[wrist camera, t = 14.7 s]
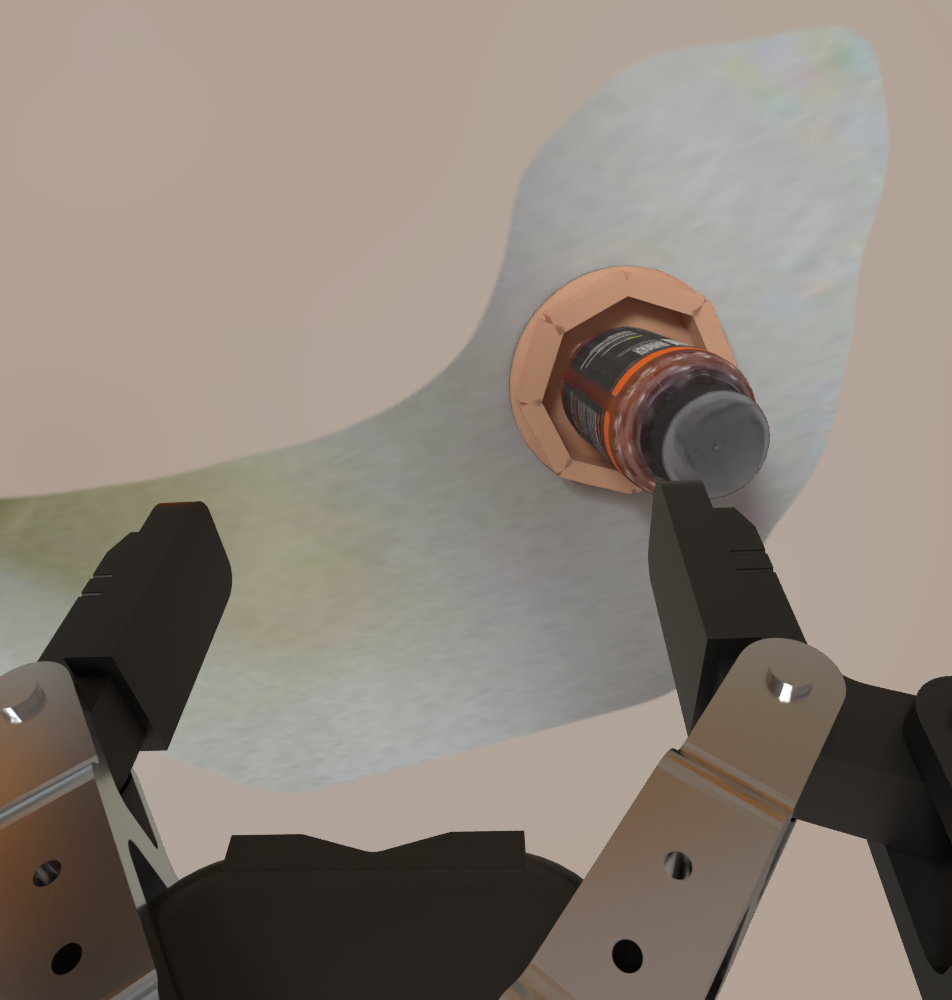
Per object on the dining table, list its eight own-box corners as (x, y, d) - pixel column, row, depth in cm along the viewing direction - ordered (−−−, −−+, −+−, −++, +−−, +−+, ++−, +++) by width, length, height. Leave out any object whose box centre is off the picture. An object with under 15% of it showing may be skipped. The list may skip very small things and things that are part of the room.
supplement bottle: (614, 465, 37) (707, 558, 26) (532, 391, 35) (598, 458, 25) (698, 379, 36) (829, 440, 25) (618, 297, 34) (725, 325, 23)
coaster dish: (469, 339, 34) (474, 346, 32) (672, 221, 34) (691, 221, 32) (568, 519, 38) (578, 536, 36) (751, 418, 38) (773, 428, 36)
